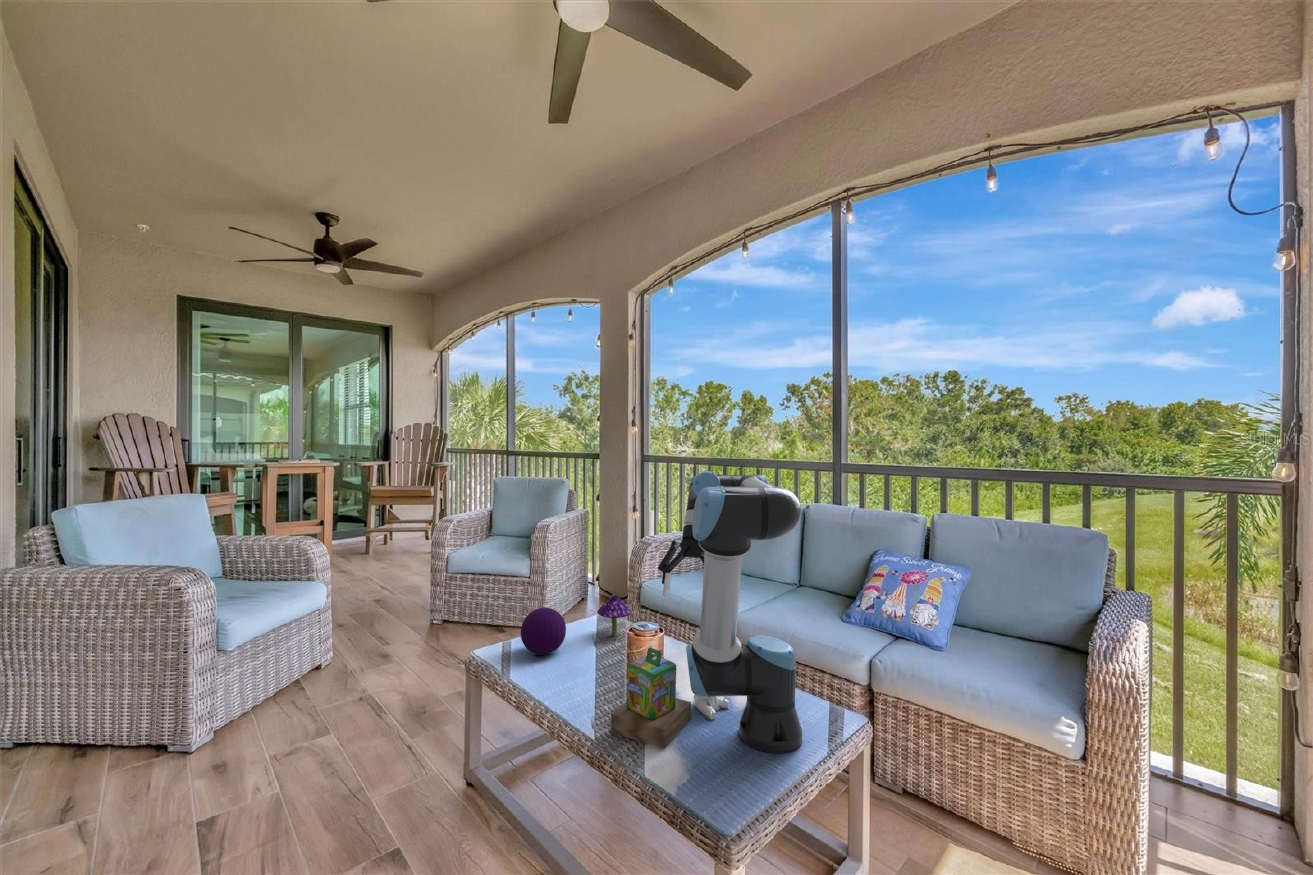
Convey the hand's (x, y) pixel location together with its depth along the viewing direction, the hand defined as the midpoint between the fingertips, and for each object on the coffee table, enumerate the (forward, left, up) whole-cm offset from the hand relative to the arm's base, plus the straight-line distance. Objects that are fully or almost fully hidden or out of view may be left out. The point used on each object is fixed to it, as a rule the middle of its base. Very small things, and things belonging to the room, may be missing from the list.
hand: (686, 599), depth 157 cm
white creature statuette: (-11, +5, -27) cm, 29 cm away
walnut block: (-5, +21, -27) cm, 34 cm away
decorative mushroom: (+45, -17, -27) cm, 55 cm away
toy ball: (+52, +10, -27) cm, 59 cm away
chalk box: (-5, +21, -22) cm, 31 cm away
